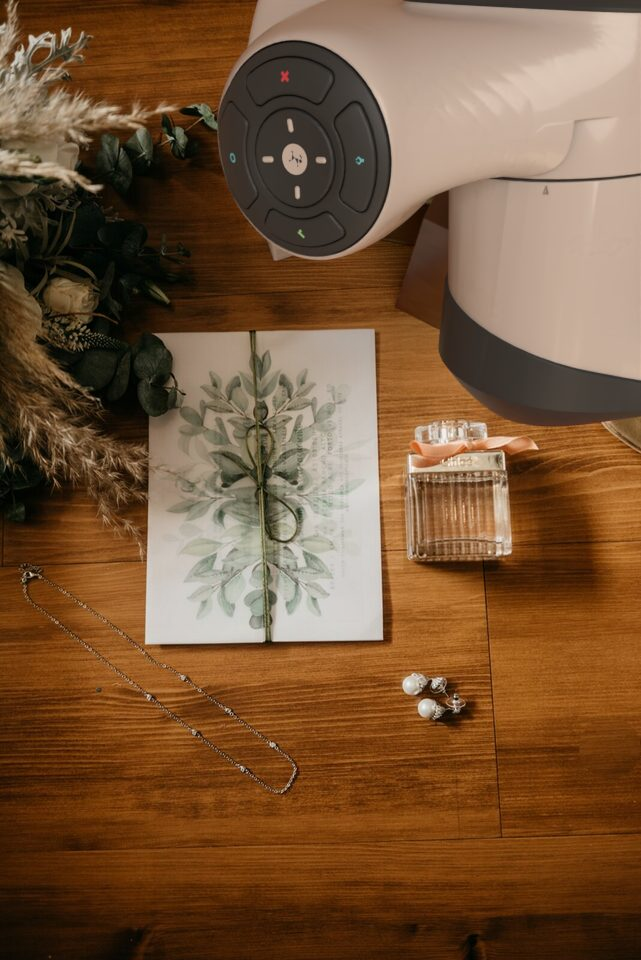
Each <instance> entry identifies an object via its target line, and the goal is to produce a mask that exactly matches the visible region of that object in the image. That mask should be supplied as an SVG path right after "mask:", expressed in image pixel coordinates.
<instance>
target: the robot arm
mask: <svg viewBox="0 0 641 960" xmlns="http://www.w3.org/2000/svg"><path fill="white" fill-rule="evenodd" d="M221 93H222V94H221V96H220V101H219V105H218V110H217V121H216V129H217V130H216V131H217V133H216V134H217V144H218V152H219V158H220V163H221V167H222V171H223V175H224V178H225V181H226V185H227V187H228V190H229V192H230V194H231V196H232V198H233V200H234V202H235V204H236V205H237V207H238V208H239V211H240V212H241V213H242V215H243V216H244V217H245V219H246V220H247V221H248V222H249V224H251V226H252V227H253V228H254V229H255V231H257V232H258V233H259V234H260V235H261V237H263V238H264V239H265V240H266V241H267V240H268V241H269V242H270V243H272V244H273V245H274V246H276V247H278V248H279V249H281V250H283V251H285V252H287V253H289V254H291V255H293V256H294V257H297V258H301V259H306V260H312V261H328V260H334V259H340V258H343V257H346V256H349V255H352V254H354V253H357V252H360V251H362V250H364V249H366V248H368V247H370V246H371V245H374V244H375V243H378V242H379V241H381V240H380V239H382V238H384V237H385V236H387V235H388V234H389V233H391V232H392V231H393V230H395V229H396V228H397V227H399V226H400V225H401V224H403V223H404V222H405V221H406V220H407V219H409V218H410V217H411V216H412V215H413V214H414V213H415V212H416V211H417V210H418V209H419V208H420V207H421V206H422V205H423V204H424V203H425V202H426V201H427V200H428V199H429V198H431V197H433V196H435V195H437V194H439V193H442V192H444V191H447V190H449V233H448V273H447V274H446V278H445V284H444V294H443V304H442V314H441V324H440V330H439V335H438V346H437V347H438V354H439V357H440V359H441V361H442V364H443V365H444V366H445V367H446V368H447V370H448V371H449V372H450V374H451V375H452V376H453V377H454V378H455V380H456V381H457V382H458V383H459V384H460V385H461V386H462V388H463V389H465V390H466V391H467V392H468V393H469V394H470V395H471V396H472V397H473V398H474V399H475V400H476V401H477V402H479V403H480V404H481V405H482V406H484V407H485V408H486V409H487V410H489V411H491V412H492V413H494V415H497V416H498V417H500V418H502V419H503V420H507V421H510V422H513V423H515V424H516V423H517V424H521V425H527V426H534V427H547V428H548V427H574V426H583V425H584V426H585V425H591V424H599V423H606V422H614V421H620V420H626V419H633V418H640V417H641V0H257V3H256V6H255V9H254V14H253V17H252V21H251V27H250V31H249V36H248V41H247V47H246V48H245V50H244V51H242V53H241V54H240V56H239V57H238V59H237V60H236V62H235V63H234V65H233V67H232V68H231V70H230V72H229V74H228V76H227V78H226V81H225V84H224V86H223V89H222V92H221Z"/></svg>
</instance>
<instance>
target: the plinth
mask: <svg viewBox="0 0 641 960" xmlns="http://www.w3.org/2000/svg"><path fill="white" fill-rule="evenodd" d="M448 233H449V190H447V191H444V192H442V193H439V194H437V195H435V196H434V198H433V200H432V202H431V204H430V206H429V208H428V210H427V212H426V214H425V215H424V217H423V221H422V224H421V227H420V230H419V233H418V236H417V240H416V243H415V246H413V248H412V252H411V256H410V259H409V262H408V265H407V268H406V272H405V275H404V278H403V281H402V284H401V286H400V290H399V293H398V297H397V300H396V303H395V308H396V309H397V310H399V311H400V312H402V313H405V314H407V315H409V316H412V317H413V318H414V319H417V320H419V321H421V322H423V323H425V324H427V325H429V326H431V327H433V328H435V329H437V330H439V331H440V324H441V314H442V304H443V294H444V284H445V278H446V274H447V273H448Z"/></svg>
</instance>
